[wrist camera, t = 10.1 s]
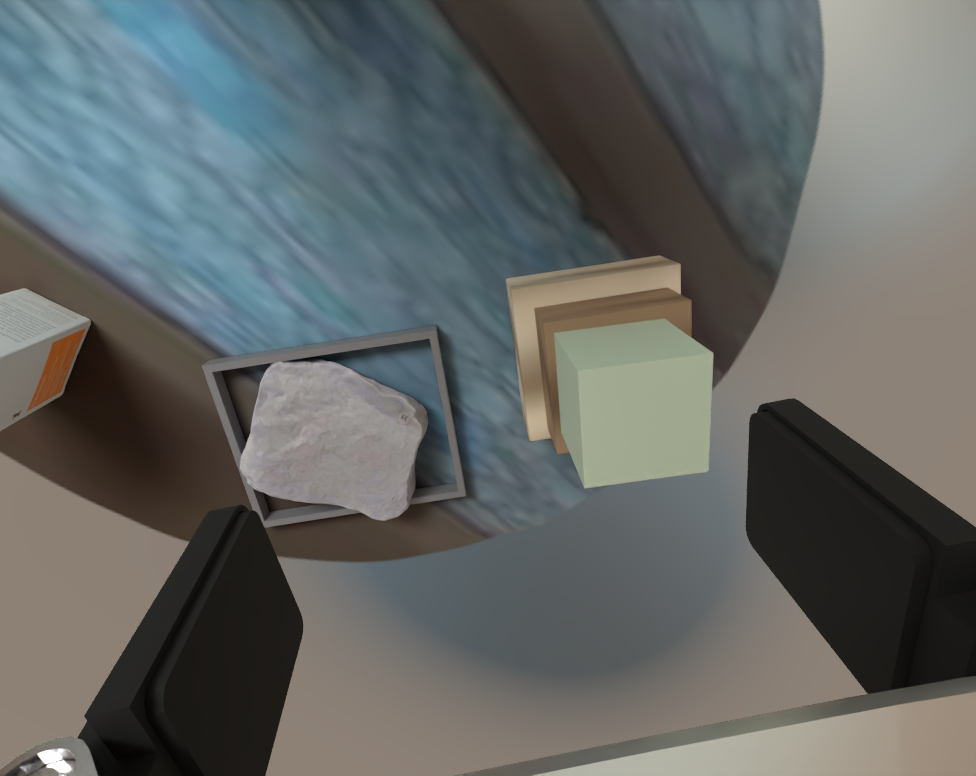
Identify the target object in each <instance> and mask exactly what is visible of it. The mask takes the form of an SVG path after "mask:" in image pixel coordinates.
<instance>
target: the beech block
mask: <svg viewBox="0 0 976 776" xmlns="http://www.w3.org/2000/svg"><path fill="white" fill-rule="evenodd" d="M506 286H507V293H508V301H509V309H510V317H511V325H512V333H513V341H514V348H515V356H516V364H517V372H518V380H519V388H520V396H521V404H522V411H523V419H524V422H525V426H526V429H527V432H528V436H529V439H530V441H535V440H542V439H548V438H551V436H550V434H549V431H548V427H547V419H546V410H545V401H544V392H543V383H542V374H541V365H540V356H539V347H538V338H537V329H536V320H535V311H534V308H537V307H544V306H550V305H557V304H563V303H570V302H576V301H583V300H589V299H596V298H602V297H609V296H615V295H622V294H628V293H635V292H641V291H648V290H654V289H661V288H667V287H668V288H670V289H671V290H673V291H675V292H677V293H679V294H681V264H679V263H677V262H674V261H672V260H669V259H667V258H665V257H662V256H660V255H658V256H651V257H645V258H638V259H632V260H625V261H618V262H612V263H605V264H599V265H592V266H586V267H579V268H572V269H566V270H559V271H553V272H546V273H540V274H533V275H526V276H520V277H513V278H507V279H506Z"/></svg>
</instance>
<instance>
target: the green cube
mask: <svg viewBox="0 0 976 776" xmlns="http://www.w3.org/2000/svg"><path fill="white" fill-rule="evenodd" d="M554 341H555V355H556V368H557V382H558V395H559V409H560V423H561V433H562V435H563V438H564V440H565V443H566V445H567V447H568V450H569V452H570V455H571V457H572V459H573V462H574V464H575V467H576V469H577V471H578V474H579V476H580V479H581V481H582V484H583V486H584V488H591V487H598V486H606V485H613V484H621V483H628V482H636V481H643V480H651V479H658V478H666V477H673V476H680V475H688V474H695V473H703V472H708V471H709V452H710V451H709V450H710V427H711V425H710V424H711V402H712V400H711V399H712V377H713V353H712V352H711V351H710V350H708V349H707V348H705V347H704V346H703V345H701V344H700V343H698V342H697V341H695V340H694V339H693V338H691V337H690V336H688V335H687V334H686V333H684V332H683V331H681V330H680V329H679V328H677V327H676V326H674V325H673V324H672V323H670V322H669V321H667V320H666V319H656V320H648V321H641V322H633V323H625V324H618V325H610V326H602V327H594V328H587V329H579V330H571V331H564V332H556V333H554Z"/></svg>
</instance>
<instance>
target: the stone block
mask: <svg viewBox="0 0 976 776" xmlns="http://www.w3.org/2000/svg"><path fill="white" fill-rule="evenodd" d="M427 426H428V416H427V411H426V409H425V407H424V406H423V405H421V404H420V403H418V402H417V401H416V400H415V399H413V398H412V397H411V396H407V395H405V394H403V393H401V392H398V391H397V390H394V389H391V388H389V387H387V386H384V385H381V384H380V383H379V382H377V381H375V380H373V379H370V378H367V377H364V376H362V375H360V374H359V373H357V372H356V371H354V370H352V369H350V368H347V367H344V366H343V365H340V364H338V363H336V362H330V361H326V360H325V359H321V358H313V359H308V360H302V359H294V360H288V361H281V362H275V363H270V364H269V366H268V367H267V369H266V371H265V373H264V376H263V378H262V380H261V383H260V388H259V393H258V398H257V401H256V404H255V409H254V413H253V418H252V424H251V433H250V436H249V438H248V440H247V443H246V446H245V449H244V451H243V453H242V455H241V460H240V470H241V472H242V474H243V475H244V476H245V477H246V478H247V483H248V484H249V485H250V486H252V487H253V488H254V489H255V490H258V491H260V492H264V493H266V494H268V495H269V496H273V497H277V498H281V499H288V500H293V501H298V502H306V503H319V504H332V505H338V506H343V507H345V508H347V509H351V510H358V511H360V512H361V513H363V514H365V515H367V516H369V517H371V518H372V519H376V520H383V521H386V520H389V519H392V518H396V517H398V516H399V515H401V514H402V513H403V512H404V511H406V510H407V509H408V507H409V505H410V500H411V497H412V496H413V493H414V491H415V485H416V478H415V459H416V455H417V450H418V447H419V445H420V443H421V441H422V439H423V437H424V435H425V433H426V430H427Z"/></svg>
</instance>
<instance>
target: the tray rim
mask: <svg viewBox="0 0 976 776" xmlns="http://www.w3.org/2000/svg"><path fill="white" fill-rule="evenodd" d="M424 339H430V343H431V349H432V354H433V359H434V365H435V370H436V375H437V381H438V386H439V391H440V397H441V402H442V407H443V413H444V418H445V423H446V429H447V434H448V439H449V445H450V450H451V455H452V461H453V466H454V471H455V477H456V482H457V483H451V484H445V485H439V486H432V487H426V488H419V489H415V491H414V493H413V496H412V497H411V500H410V505H412V504H419V503H425V502H432V501H438V500H444V499H451V498H457V497H464V496H466V486H465V480H464V475H463V469H462V464H461V458H460V453H459V447H458V442H457V436H456V431H455V425H454V420H453V414H452V409H451V403H450V397H449V392H448V386H447V381H446V375H445V370H444V364H443V359H442V353H441V348H440V342H439V337H438V331H437V326H436V325H433V326H427V327H420V328H414V329H407V330H401V331H394V332H388V333H381V334H375V335H368V336H362V337H355V338H349V339H342V340H336V341H329V342H323V343H316V344H310V345H303V346H297V347H290V348H284V349H277V350H271V351H264V352H258V353H251V354H245V355H238V356H232V357H225V358H219V359H212V360H209V361H207V362H206V363H205V364H204V365H202V368H203V371H204V374H205V377H206V380H207V382H208V385H209V388H210V391H211V394H212V396H213V399H214V402H215V405H216V408H217V410H218V413H219V416H220V419H221V422H222V424H223V427H224V430H225V433H226V436H227V438H228V441H229V444H230V447H231V450H232V453H233V455H234V458H235V461H236V464H237V467H238V469H239V472H240V475H241V478H242V481H243V483H244V486H245V489H246V492H247V495H248V497H249V500H250V503H251V506H252V509H253V511H256V512H257V513H258V514H259V516H260V518H261V521H262V523H263V525H264V528H265V527H272V526H278V525H284V524H291V523H297V522H304V521H310V520H316V519H323V518H329V517H336V516H342V515H348V514H355V513H361V512H360V511H358V510H351V509H347V508H345V507H343V506H338V505H332V504H317V505H310V506H304V507H298V508H291V509H285V510H278V511H272V512H269V509H268V506H267V503H266V500H265V497H264V494H263V492H260V491H258V490H255V489H254V488H253V487H252V486H250V485H249V484H248V483H247V478H246V477H245V476H244V475H243V474H242V472H241V470H240V460H241V455H242V453H243V451H244V449H245V446H246V442H245V439H244V436H243V433H242V430H241V427H240V425H239V422H238V419H237V416H236V413H235V410H234V407H233V404H232V401H231V398H230V395H229V393H228V390H227V387H226V384H225V381H224V378H223V375H222V372H221V371H223V370H229V369H236V368H242V367H249V366H255V365H262V364H268V363H275V362H281V361H288V360H294V359H301V358H307V357H314V356H320V355H327V354H333V353H340V352H346V351H353V350H359V349H366V348H372V347H379V346H385V345H392V344H398V343H405V342H411V341H418V340H424Z"/></svg>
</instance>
